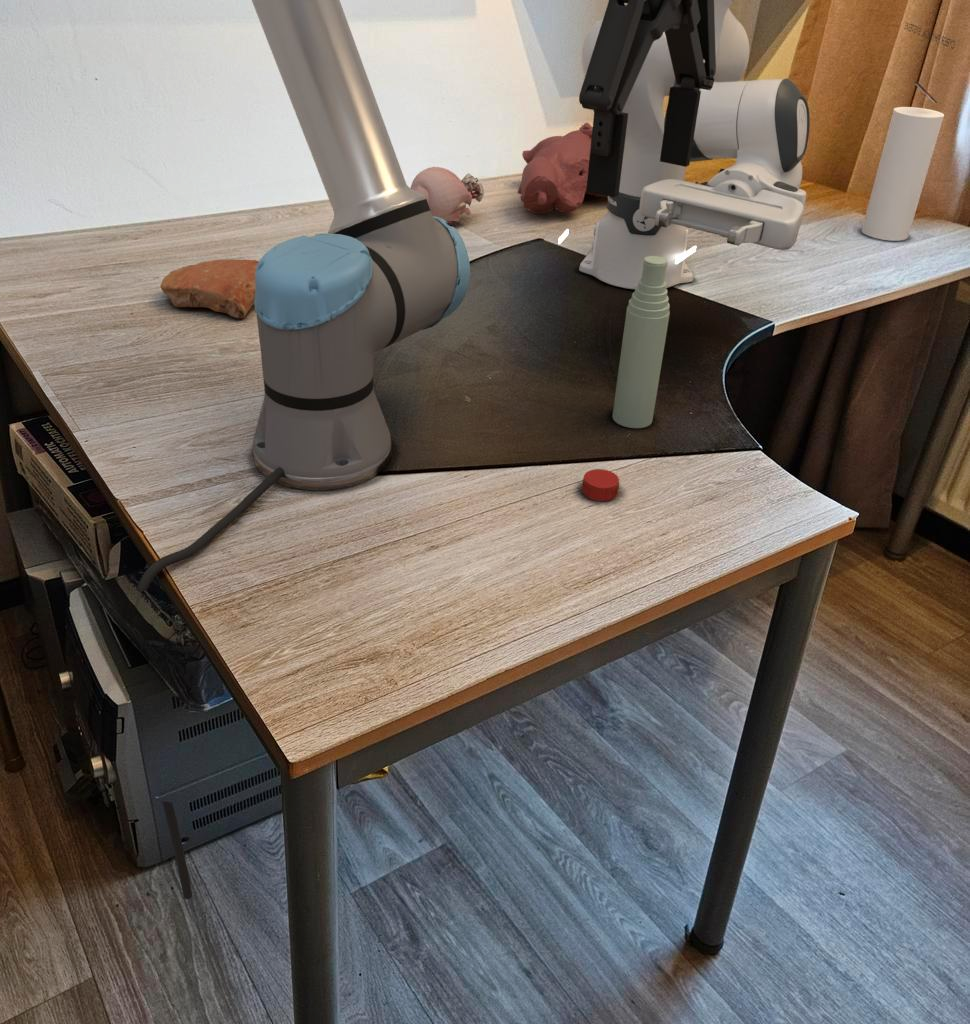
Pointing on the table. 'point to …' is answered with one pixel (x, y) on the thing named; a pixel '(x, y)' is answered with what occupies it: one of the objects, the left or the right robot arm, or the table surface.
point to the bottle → (642, 347)
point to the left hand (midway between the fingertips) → (640, 178)
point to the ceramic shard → (214, 286)
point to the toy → (447, 192)
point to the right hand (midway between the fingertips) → (696, 229)
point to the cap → (600, 485)
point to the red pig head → (557, 172)
